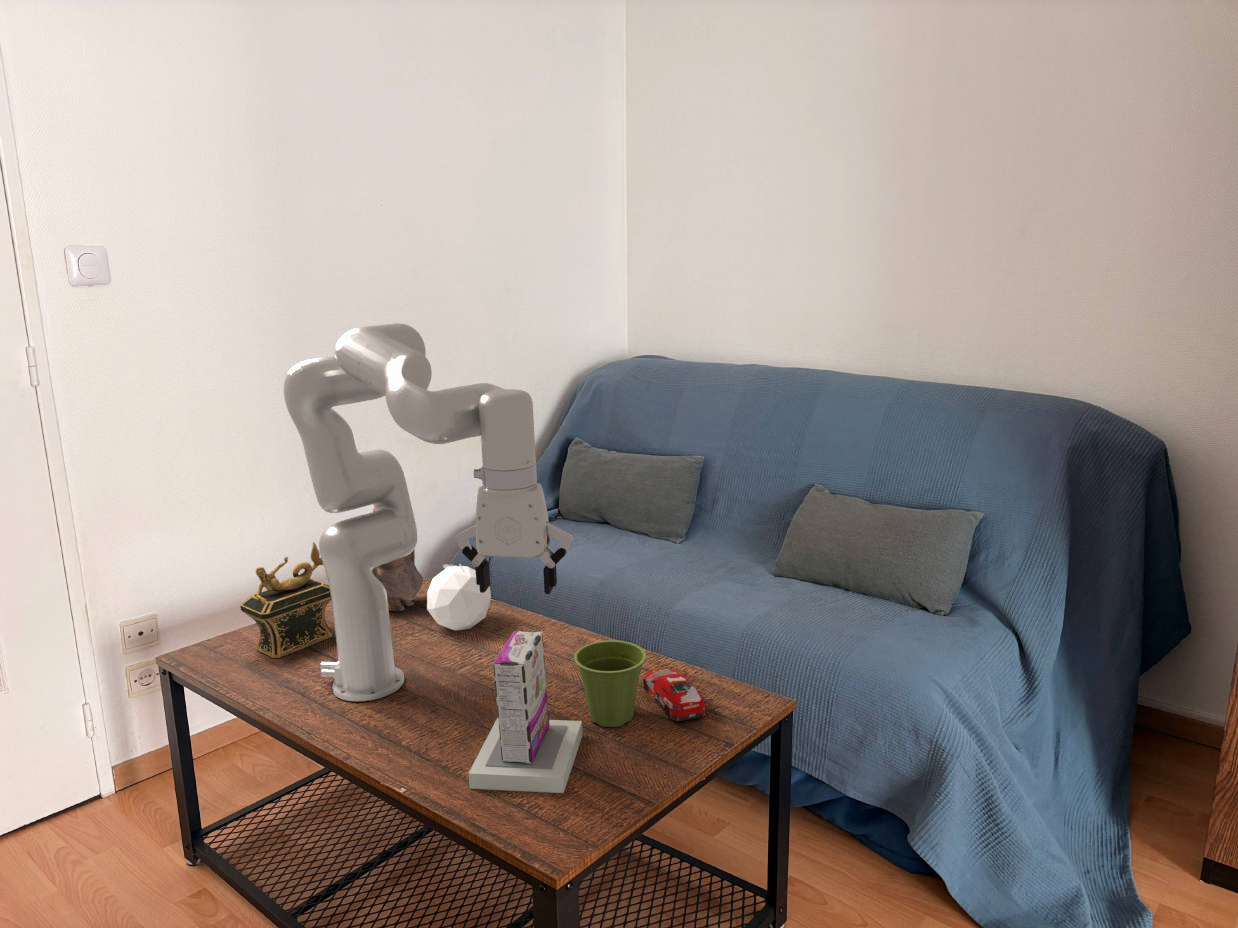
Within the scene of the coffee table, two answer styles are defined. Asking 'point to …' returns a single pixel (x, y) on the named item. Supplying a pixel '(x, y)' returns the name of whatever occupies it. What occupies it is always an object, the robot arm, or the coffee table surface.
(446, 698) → the coffee table surface
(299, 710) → the coffee table surface
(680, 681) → the race car
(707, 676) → the coffee table surface
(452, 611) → the geodesic sphere
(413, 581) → the clay figurine
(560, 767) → the picture frame
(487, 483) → the robot arm
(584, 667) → the plant pot
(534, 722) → the candy bar box
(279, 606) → the decorative box
